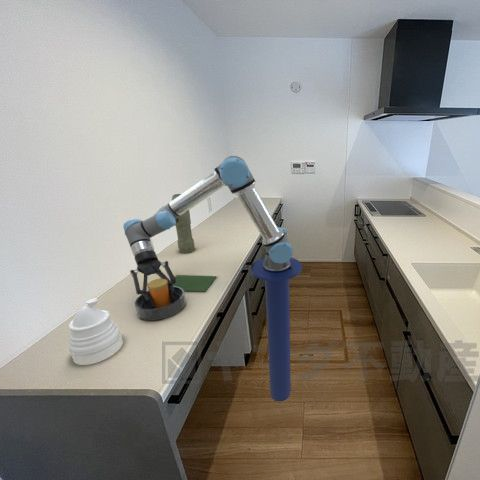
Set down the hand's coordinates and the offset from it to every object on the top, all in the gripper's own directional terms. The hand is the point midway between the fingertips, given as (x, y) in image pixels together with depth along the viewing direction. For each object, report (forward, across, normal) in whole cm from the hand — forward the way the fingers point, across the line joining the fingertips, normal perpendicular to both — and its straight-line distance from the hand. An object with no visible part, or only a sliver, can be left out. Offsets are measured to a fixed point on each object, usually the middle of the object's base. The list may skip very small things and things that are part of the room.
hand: (163, 303), depth 104 cm
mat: (-9, -16, -14) cm, 23 cm away
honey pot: (+8, +22, +2) cm, 23 cm away
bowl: (0, 0, -5) cm, 5 cm away
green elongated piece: (-38, -29, -44) cm, 65 cm away
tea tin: (0, 0, -5) cm, 5 cm away
